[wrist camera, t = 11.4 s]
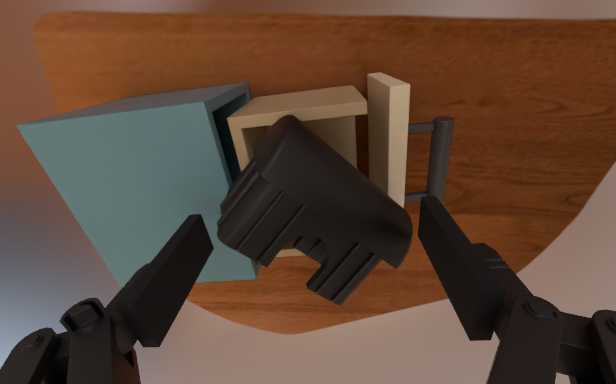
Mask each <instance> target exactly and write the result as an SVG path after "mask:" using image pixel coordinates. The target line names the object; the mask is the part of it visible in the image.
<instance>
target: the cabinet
mask: <svg viewBox="0 0 616 384" xmlns="http://www.w3.org/2000/svg"><path fill="white" fill-rule="evenodd" d="M249 101H251V97H250V92H249V88H248V83H247V82H242V83H234V84H227V85H219V86H212V87H205V88H197V89H190V90H182V91H175V92H167V93H160V94H152V95H145V96H137V97H130V98H123V99H120V100H115V101H111V102H107V103H103V104H100V105H96V106H92V107H88V108H84V109H80V110H76V111H72V112H68V113H64V114H60V115H56V116H52V117H49V118H44V119H40V120H37V121H33V122H29V123H25V124H21V125H18V126H17V128H18V129H19V131H20V133H21V134H22V136H23V137H24V139H25V140H26V142H27V143H28V145H29V147H30V148H31V149H32V151H33V153H34V154H35V156H36V157H37V159H38V160H39V162H40V164H41V165H42V167H43V168H44V170H45V171H46V172H47V174H48V176H49V177H50V179H51V180H52V182H53V184H54V185H55V187H56V188H57V190H58V191H59V193H60V194H61V196H62V197H63V199H64V200H65V202H66V204H67V205H68V207H69V208H70V210H71V211H72V213H73V214H74V216H75V217H76V219H77V220H78V222H79V224H80V225H81V227H82V228H83V230H84V231H85V233H86V234H87V236H88V238H89V239H90V241H91V242H92V244H93V245H94V247H95V248H96V250H97V252H98V253H99V255H100V256H101V258H102V259H103V261H104V262H105V264H106V265H107V267H108V268H109V270H110V271H111V273H112V275H113V276H114V278H115V279H116V281H117V282H118V284H119V285H120V287H124V285H125V284H126V283H127V282H128V281H130V278H131V277H132V276H133V275H134V274H135V272H136V271H137V270H139V269H140V268H141V267H142V266H144V265H145V264H146V263H150V262H151V261H152V260H153V259H154V258H155V256H156V255H157V254H158V253H159V251H160V250H161V249H162V248H163V246H164V245H165V244H166V243H167V242H168V240H169V239H170V238H171V237H172V235H173V234H174V233H175V232H176V231H177V229H178V228H179V227H180V226H181V224H182V223H183V222H184V221H185V220H186V218H187V217H188V216H189V215H193V214H201V215H202V218H203V220H204V223H205V226H206V228H207V231H208V234H209V236H210V239H211V242H212V244H213V247H214V249H213V251H212V253H211V255H210V257H209V258H208V260H207V262H206V264H205V266H204V267H203V269H202V271H201V273H200V275H199V276H198V278H197V280H196V282H213V281H230V280H247V279H257V275H258V272H259V268H260V265H261V264H260V263H258V262H256V261H254V260H252V259H250V258H248V257H246V256H244V255H243V254H241V253H239V252H237V251H235V250H233V249H231V248H229V247H227V246H226V245H224V244H223V243H222V242H221V241H220V240H219V239H218V237H217V231H218V227H217V221H218V220H219V219H220V217H221V216H222V214H220V213H221V209H220V204H221V203H222V202H223V200H224V199H225V198H226V197H227V192H228V189H229V188H230V187H231V185H232V184H233V183H234V182H235V180H236V179H237V178H238V176H239V175H240V174H241V169H240V165H239V161H238V158H237V154H236V150H235V147H234V143H233V139H232V135H231V132H230V128H229V125H228V121H227V118H228V117H229V116H230V115H232V114H233V113H235V112H236V111H237V110H239V109H240V108H241V107H243V106H244V105H245V104H247V103H248V102H249Z"/></svg>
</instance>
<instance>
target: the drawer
mask: <svg viewBox="0 0 616 384" xmlns="http://www.w3.org/2000/svg"><path fill="white" fill-rule="evenodd" d="M367 90H368V145H369V180H371V181H372V182H373V183H374V184H375V185H377V186H378V187H379V188H380V189H381V190H382V191H384V192H385V193H386V194H387V195H388V196H390V197H391V198H392V199H393V200H394V201H395V202H397V203H398V204H399V205H400V206H401V207H402V208H403V209H404V202H409V201H421V197H423V196H436V197H437V198H438V200H439V201H440V202H443V198H444V191H445V183H446V176H447V168H448V161H449V153H450V146H451V138H452V131H453V123H454V118H452V117H445V116H444V117H436V118H434V119H433V122H425V123H416V124H408V119H409V100H410V84H408V83H406V82H403V81H401V80H398V79H396V78H393V77H391V76H388V75H386V74H383V73H381V72H379V73H371V74H367ZM288 114H291V115H294V116H295V117H296V118H298V119H299V120H300V121H301V122H302V123H303V124H305V125H306V126H307V127H308V128H309V129H311V130H312V131H313V132H314V133H315V134H316V135H318V136H319V137H320V138H321V139H322V140H324V141H325V142H326V143H327V144H328V145H329V146H331V147H332V148H333V149H334V150H335V151H336V152H338V153H339V154H340V155H341V156H342V157H344V158H345V159H346V160H347V161H348V162H349V163H351V164H352V165H353V166H354V167H355V168H357V150H356V126H355V115H363V114H367V101H366V100H365V98H364V97H363V96H362V95H361V94H360V93H359V91H358V90H357V89H356V88H355V87H354V86H353V85H347V86H340V87H332V88H324V89H316V90H308V91H300V92H292V93H285V94H277V95H269V96H261V97H255V98H253V99H252V100H251V101H249V102H248V103H247V104H245V105H244V106H243V107H241V108H240V109H239V110H237V111H236V112H235V113H233V114H232V115H230V116H229V117H228V118H227V121H228V125H229V128H230V132H231V135H232V139H233V143H234V147H235V150H236V154H237V158H238V161H239V165H240V169H241V172H242V171H243V170H244V168H245V167H246V166H247V164H248V163H249V162H250V160H251V159H252V158H253V156H254V151H253V147H254V146H255V145H256V143H257V142H258V141H259V140H260V138H261V137H262V136H263V135H264V134H265V133H266V131H267V130H268V129H269V128H270V127H271V126H272V125H273V124H274V123H275V122H276V121H277V120H279V119H280V118H281V117H283V116H285V115H288ZM430 131H432V135H431V145H430V156H429V166H428V176H427V187H426V192H425V191H422V192H410V193H405V176H406V157H407V138H408V134H412V133H421V132H430ZM293 244H294V241H292V240H291V241H290V242H288V243H287V244H286V245H285V246H284V247H283V248H282V249H281V251H280V252H279V253H278V254H277V256H276V257H285V256H300V255H305V254H304V253H302V252H300V251H299V250H297V249H295V248H294V247H293Z"/></svg>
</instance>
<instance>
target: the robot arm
mask: <svg viewBox="0 0 616 384" xmlns="http://www.w3.org/2000/svg"><path fill="white" fill-rule="evenodd" d="M418 237H419V239H420V241H421V243H422V245H423V247H424V249H425V251H426V253H427V255H428V257H429V259H430V261H431V263H432V265H433V267H434V269H435V271H436V273H437V275H438V277H439V279H440V281H441V283H442V285H443V287H444V289H445V291H446V293H447V295H448V297H449V299H450V301H451V303H452V305H453V307H454V310H455V311H456V314H457V315H458V318H459V320H460V322H461V324H462V326H463V327H464V330H465V332H466V334H467V335H468V338H469V340H470V341H477V340H491V338H492V335H493V332H494V331H495V333H496V335H497V336H498V338H499V340H500V343H499V346H498V348H497V351H496V355H495V358H494V361H493V364H492V367H491V370H490V373H489V376H488V379H487V382H486V384H555V378H556V372H558V373H561V374H565V375H568V376H569V379H570V383H571V384H616V311H611V310H599V311H597V312H595V314H593V316H592V318H587V317H583V316H578V315H573V314H568V313H564V312H561V311H559V310H558V308H556V307H555V306H554V305H553V304H551V303H550V302H548V301H546V300H544V299H542V298H540V297H536V296H533V294H532V293H531V292H530V291H529V290H528V288H527V287H526V286H525V285H524V284H523V283H522V281H521V280H520V279H519V278H518V277H517V275H516V274H515V273H514V272H513V271H512V270H511V268H509V266H508V265H507V264H506V262H505V261H503V259H502V258H501V256H500V255H499V254H498V253H497V252H496V251H495V250H494V249H492V248H491V247H489V246H488V245H486V244H485V243H478V244H471V242H470V241H469V240H468V238H467V237H466V236H465V234H464V233H463V232H462V230H461V229H460V228H459V226H458V225H457V224H456V222H455V221H454V220H453V218H452V217H451V216H450V214H449V213H448V212H447V210H446V209H445V208H444V206H443V205H442V204H441V202H440V201H439V200H438V198H437V197H436V196H423V197H421V206H420V217H419V229H418ZM213 249H214V247H213V244H212V242H211V239H210V236H209V234H208V231H207V228H206V226H205V223H204V220H203V218H202V215H201V214H193V215H189V216H188V217H187V218H186V220H185V221H184V222H183V223H182V224H181V226H180V227H179V228H178V229H177V231H176V232H175V233H174V234H173V235H172V237H171V238H170V239H169V240H168V242H167V243H166V244H165V245H164V246H163V248H162V249H161V250H160V251H159V253H158V254H157V255H156V256H155V258H154V259H153V260H152V261H151V262H150V263H146V264H145V265H144V266H142V267H141V268H140V269H139V270H137V271H136V272H135V274H134V275H133V276H132V277H131V278H130V281H128V282H127V283H126V284H125V285H124V287H123V288H122V289H121V290H120V292H118V294H117V295H116V296H115V297H114V298H113V300H112V301H111V302H110V303H109V304H108V305H107V307H106V308H104V306H103V305H102V304H101V302H100V301H99V299H97V298H88V299H86V300H83V301H80V302H79V303H77V304H75V305H74V306H72V307H71V308H70V309H69V310H67V311H66V312H65V313H64V315H63V316H62V318H61V320H60V322H61V324H62V325H63V326H64V327H65V328H66V329H67V332H64V333H60V334H56V333H55V332H54V331H53V329H52V328H43V329H39V330H38V331H35V332H33V333H31V334H30V335H28V336H26V337H25V338H24V339H22V340H21V341H20V342H19V343H18V344H17V345H16V346H15V347H14V349H13V350H12V351H11V353H10V354H9V356H8V358H7V359H6V361H5V363H4V364H3V366H2V367H1V369H0V384H141V382H140V376H139V369H138V363H137V356H136V351H135V350H134V348H133V346H134V344H135V343H136V341H137V340H139V342H140V343H141V345H142V346H143V347H160V345H161V343H162V341H163V339H164V338H165V336H166V334H167V332H168V330H169V329H170V327H171V325H172V323H173V321H174V320H175V318H176V316H177V314H178V312H179V311H180V309H181V307H182V305H183V303H184V302H185V300H186V298H187V296H188V294H189V293H190V291H191V289H192V287H193V285H194V284H195V282H196V280H197V278H198V276H199V275H200V273H201V271H202V269H203V267H204V266H205V264H206V262H207V260H208V258H209V257H210V255H211V253H212V251H213Z"/></svg>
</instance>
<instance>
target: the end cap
mask: <svg viewBox="0 0 616 384" xmlns="http://www.w3.org/2000/svg"><path fill="white" fill-rule="evenodd" d="M253 151H254V156H253V158H252V159H251V160H250V162H249V163H248V164H247V166H246V167H245V168H244V170H243V171H242V172H241V174H240V175H239V176H238V178H237V179H236V180H235V182H234V183H233V184H232V185H231V187H230V188H229V189H228V192H227V197H226V198H225V199H224V200H223V202H222V203H221V204H220V209H221V213H220V214H222V216H221V217H220V219H219V220H218V221H217V227H218V231H217V237H218V239H219V240H220V241H221V242H222V243H223V244H224V245H226V246H227V247H229V248H231V249H233V250H235V251H237V252H239V253H241V254H243V255H244V256H246V257H248V258H250V259H252V260H254V261H256V262H258V263H260V264H262V265H263V266H265V267H267V266H268V265H269V264H270V263H271V262H272V260H273V259H274V258H275V257H276V256H277V254H278V253H279V252H280V251H281V249H282V248H283V247H284V246H285V245H286V244H287V243H288V242H290V241H291V240H292V241H294V244H293V247H294V248H295V249H297V250H299V251H300V252H302V253H304V254H305V255H307V256H309V257H310V258H312V259H314V260H315V261H317V262H319V263H320V264H321V267H320V268H319V269H318V270H317V272H316V273H315V274H314V275H313V276H312V277H311V278H310V280H309V281H308V282H307V283H306V285H307V288H308V289H309V290H311V291H313V292H315V293H317V294H318V295H320V296H322V297H324V298H326V299H328V300H330V301H332V302H334V303H335V304H337V305H342V304H343V303H344V301H345V300H346V299H347V298H348V297H349V296H350V295H351V294H352V293H353V292H354V290H355V289H356V288H357V287H358V286H359V285H360V284H361V283H362V282H363V280H364V279H365V278H366V277H367V276H368V275H369V274H370V273H371V272H372V270H373V269H374V268H375V267H376V266H377V265H378V264H379V263H380V262H381V260H382V259H383V260H384V261H386V262H387V263H389V264H390V265H391V266H393V267H394V268H396V269H397V268H398V267H399V266H400V264H401V263H402V262H403V260H404V258H405V257H406V255H407V253H408V251H409V248H410V245H411V241H412V235H413V229H412V222H411V219H410V217H409V215H408V213H407V211H406V210H404V209H403V208H402V207H401V206H400V205H399V204H398V203H397V202H395V201H394V200H393V199H392V198H391V197H390V196H388V195H387V194H386V193H385V192H384V191H382V190H381V189H380V188H379V187H378V186H377V185H375V184H374V183H373V182H372V181H371V180H369V179H368V178H367V177H366V176H365V175H364V174H362V173H361V172H360V171H359V170H358V169H357V168H355V167H354V166H353V165H352V164H351V163H349V162H348V161H347V160H346V159H345V158H344V157H342V156H341V155H340V154H339V153H338V152H336V151H335V150H334V149H333V148H332V147H331V146H329V145H328V144H327V143H326V142H325V141H324V140H322V139H321V138H320V137H319V136H318V135H316V134H315V133H314V132H313V131H312V130H311V129H309V128H308V127H307V126H306V125H305V124H303V123H302V122H301V121H300V120H299V119H298V118H296V117H295V116H294V115H291V114H288V115H285V116H283V117H281V118H280V119H279V120H277V121H276V122H275V123H274V124H273V125H272V126H271V127H270V128H269V129H268V130H267V131H266V133H265V134H264V135H263V136H262V137H261V138H260V140H259V141H258V142H257V143H256V145H255V146H254V147H253Z"/></svg>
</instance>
